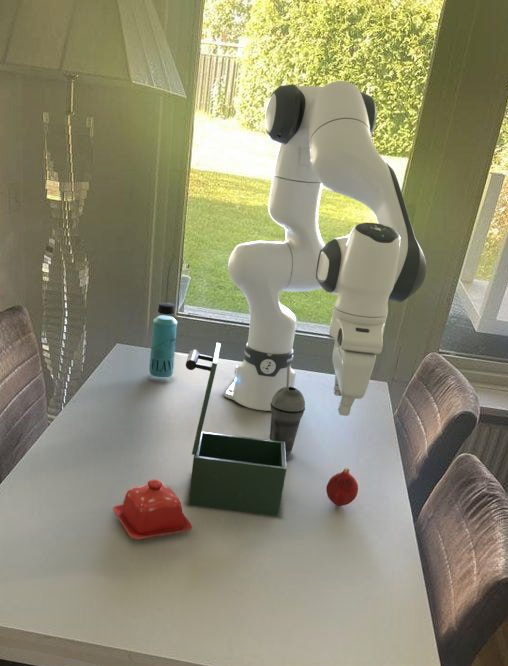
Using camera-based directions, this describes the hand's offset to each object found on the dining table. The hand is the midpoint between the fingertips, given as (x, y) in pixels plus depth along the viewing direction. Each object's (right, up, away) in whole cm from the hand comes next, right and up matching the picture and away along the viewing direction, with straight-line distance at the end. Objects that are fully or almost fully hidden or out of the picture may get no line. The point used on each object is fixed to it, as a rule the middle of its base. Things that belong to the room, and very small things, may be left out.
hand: (340, 403), depth 123 cm
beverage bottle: (-34, +13, +62) cm, 72 cm away
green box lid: (-23, +1, +1) cm, 23 cm away
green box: (-18, -16, +10) cm, 26 cm away
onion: (+2, -19, +10) cm, 21 cm away
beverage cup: (-7, -8, +27) cm, 29 cm away
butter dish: (-33, -21, -2) cm, 40 cm away
